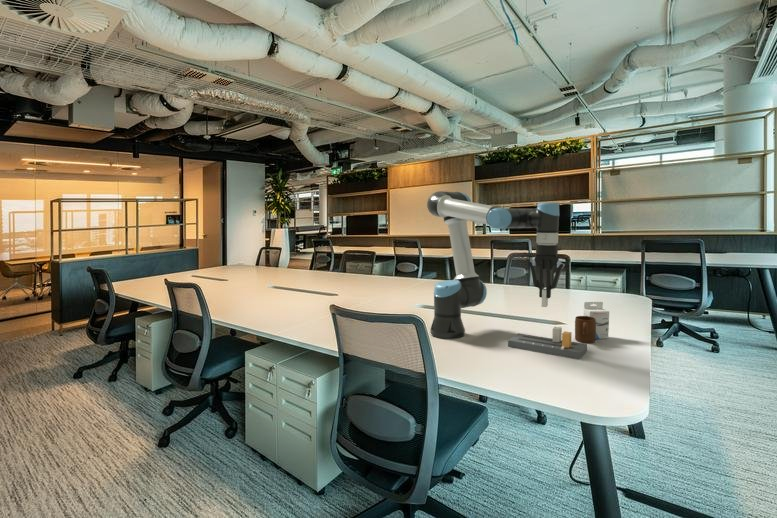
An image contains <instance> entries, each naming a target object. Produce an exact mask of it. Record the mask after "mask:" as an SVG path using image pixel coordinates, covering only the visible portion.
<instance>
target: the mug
mask: <svg viewBox="0 0 777 518" xmlns="http://www.w3.org/2000/svg"><path fill="white" fill-rule="evenodd" d="M574 339H575V340H576V341H577V342H578V343H584V344H591V343H592V344H593V343H594V342H596V340H597V339H596V319H595V318H594V317H590V316H584V315H578V316H575V320H574Z"/></svg>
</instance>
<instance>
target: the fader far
mask: <svg viewBox="0 0 777 518" xmlns="http://www.w3.org/2000/svg"><path fill="white" fill-rule="evenodd" d="M562 328H563V327H562V326H561V327H560V326H554V327H553V328H552V336H551V338H552V341H553V342H560V341H561V340H562V333H563V331H562Z"/></svg>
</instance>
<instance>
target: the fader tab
mask: <svg viewBox="0 0 777 518" xmlns="http://www.w3.org/2000/svg"><path fill="white" fill-rule="evenodd" d="M572 333H573V332H571V331H562V338H561V340H562V346H564V347H566V348H569V347H570V346H571V342H572Z"/></svg>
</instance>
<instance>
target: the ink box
mask: <svg viewBox="0 0 777 518" xmlns="http://www.w3.org/2000/svg"><path fill="white" fill-rule="evenodd" d="M583 303H584V305H583V306H584V307H583V316H590V317H594V318H595V319H596V340H597V339H601V340H602V339H605V340H606V339H609V330H610V310H608V309H604V308H603V307H604V306H603V305H604V302H603V301H585V302H583Z"/></svg>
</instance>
